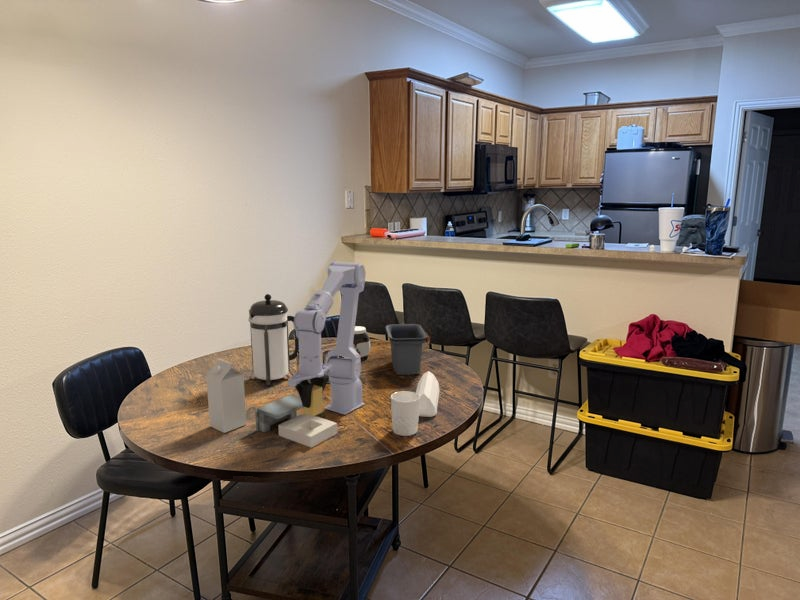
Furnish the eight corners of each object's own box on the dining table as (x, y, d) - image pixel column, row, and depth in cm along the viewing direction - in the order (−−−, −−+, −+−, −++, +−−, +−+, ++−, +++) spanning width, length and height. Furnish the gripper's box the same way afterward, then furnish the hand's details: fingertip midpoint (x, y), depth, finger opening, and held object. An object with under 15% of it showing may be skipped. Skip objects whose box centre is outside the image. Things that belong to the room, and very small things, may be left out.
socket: (305, 422, 153) (305, 412, 152) (337, 433, 146) (337, 423, 145) (278, 435, 145) (278, 425, 144) (311, 447, 138) (310, 436, 137)
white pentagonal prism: (442, 407, 154) (445, 378, 177) (420, 394, 154) (427, 367, 177) (429, 428, 156) (434, 396, 179) (407, 415, 156) (415, 385, 179)
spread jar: (370, 354, 216) (369, 325, 213) (370, 363, 205) (370, 333, 202) (339, 354, 215) (339, 326, 212) (338, 363, 204) (337, 333, 201)
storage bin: (384, 359, 209) (384, 323, 206) (424, 358, 210) (424, 322, 207) (389, 378, 188) (389, 339, 185) (433, 376, 190) (434, 337, 187)
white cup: (418, 424, 152) (418, 390, 150) (420, 437, 144) (420, 401, 142) (390, 424, 151) (390, 391, 149) (391, 437, 144) (391, 402, 142)
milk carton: (232, 418, 155) (227, 355, 151) (246, 425, 151) (242, 360, 147) (209, 426, 150) (204, 361, 146) (224, 433, 146) (219, 366, 142)
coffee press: (291, 387, 180) (288, 298, 174) (244, 386, 180) (238, 298, 174) (302, 369, 197) (299, 288, 190) (258, 369, 197) (254, 288, 191)
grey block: (291, 414, 158) (290, 393, 157) (313, 421, 153) (312, 400, 152) (256, 430, 148) (254, 407, 146) (278, 439, 143) (277, 415, 141)
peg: (312, 408, 145) (312, 384, 144) (322, 411, 144) (322, 387, 142) (303, 412, 143) (303, 388, 141) (313, 416, 141) (313, 391, 139)
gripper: (301, 365, 132) (303, 417, 135) (340, 350, 144) (341, 398, 146) (281, 360, 136) (283, 410, 139) (320, 346, 148) (322, 393, 150)
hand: (311, 404), depth 143 cm, fingers closed on peg, 3 cm apart
